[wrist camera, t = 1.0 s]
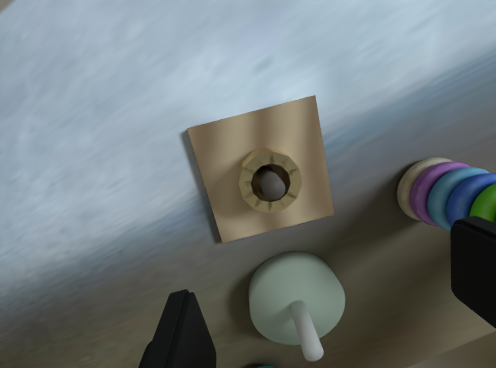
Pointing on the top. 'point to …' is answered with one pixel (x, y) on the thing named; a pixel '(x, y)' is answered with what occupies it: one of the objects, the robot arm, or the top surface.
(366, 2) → the top surface
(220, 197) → the oak stand
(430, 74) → the top surface
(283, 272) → the sage hub
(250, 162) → the brass ring
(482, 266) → the robot arm
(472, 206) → the stacking toy
